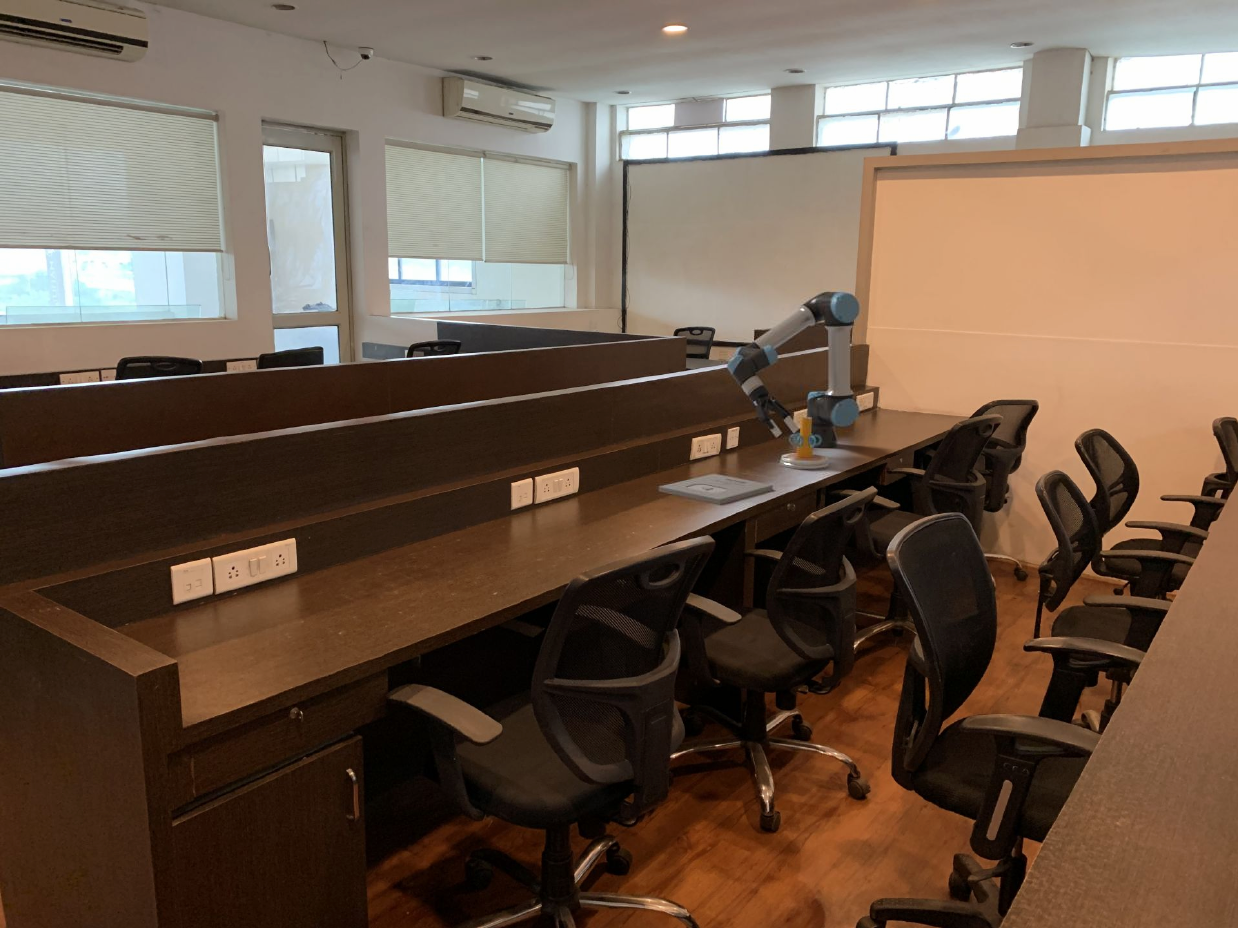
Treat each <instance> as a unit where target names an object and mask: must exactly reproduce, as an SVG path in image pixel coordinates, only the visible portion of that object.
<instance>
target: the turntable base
mask: <svg viewBox="0 0 1238 928" xmlns="http://www.w3.org/2000/svg"><path fill="white" fill-rule="evenodd" d="M779 465H780V466H781V467H783V468H787V469H792V470H798V471H799V470H800V471H819V470H820V471H821V470H826V469H828V468H829V462H828V461H827V464H824V465H818V466H802V465H793V464H788V463H785V462H782V458H780V460H779Z"/></svg>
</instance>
